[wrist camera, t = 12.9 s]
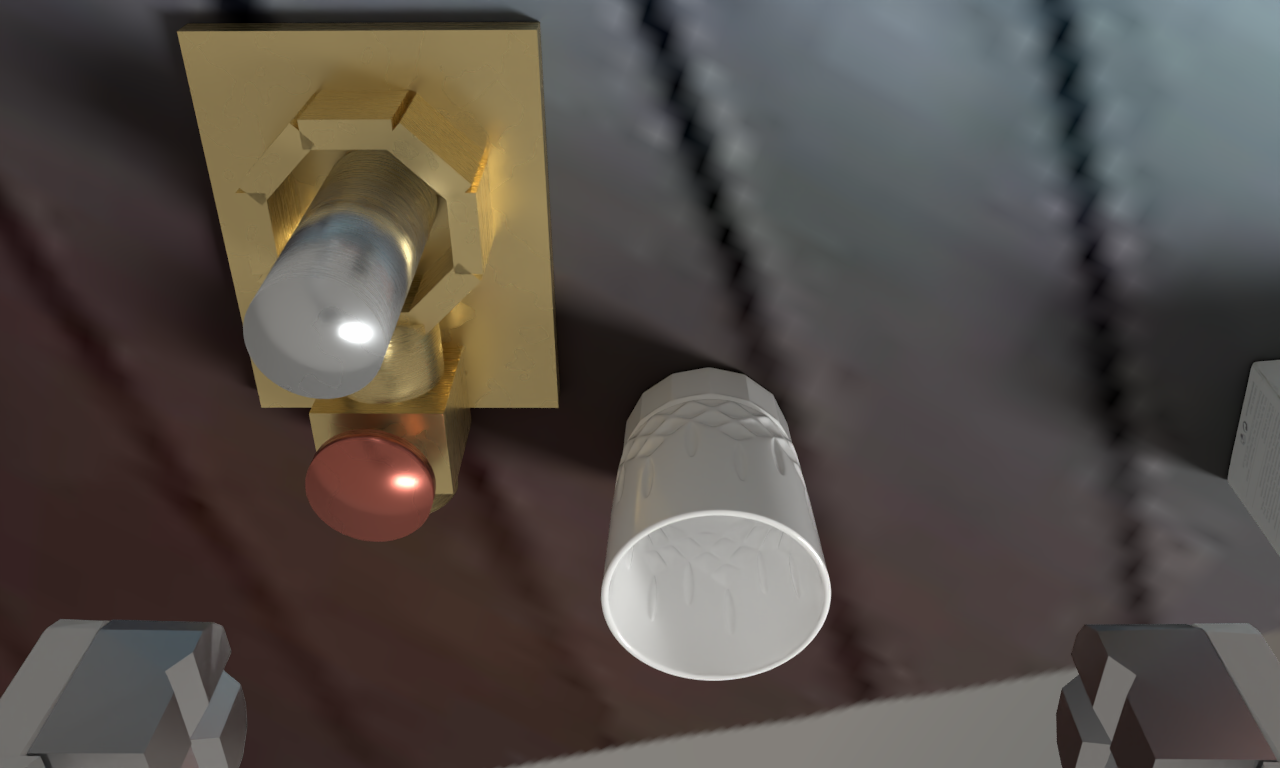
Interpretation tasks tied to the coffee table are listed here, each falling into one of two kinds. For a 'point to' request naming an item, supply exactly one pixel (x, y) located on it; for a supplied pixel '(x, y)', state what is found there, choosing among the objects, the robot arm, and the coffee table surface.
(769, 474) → the white cup
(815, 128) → the coffee table surface
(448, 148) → the brass valve fitting
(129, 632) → the robot arm
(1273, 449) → the skincare box
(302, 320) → the silver metal cylinder
